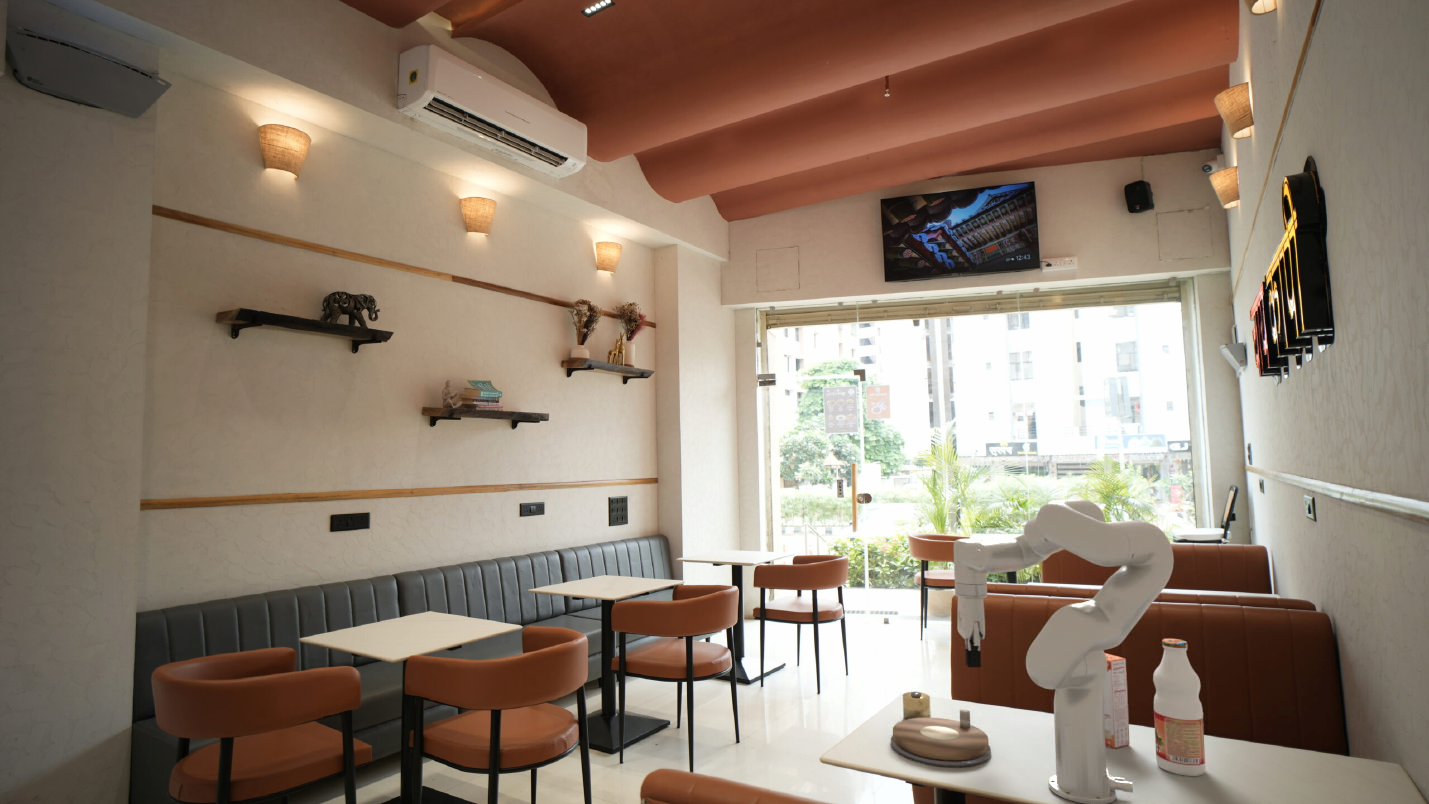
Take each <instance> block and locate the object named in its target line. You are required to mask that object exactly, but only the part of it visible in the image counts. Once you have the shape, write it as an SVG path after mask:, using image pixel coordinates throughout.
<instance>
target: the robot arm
mask: <svg viewBox="0 0 1429 804" xmlns="http://www.w3.org/2000/svg"><path fill="white" fill-rule="evenodd" d="M1063 550H1066V551H1068V552H1070V553H1071V554H1074V555H1076V556H1078V557H1079V558H1081V559H1084V560H1086V561H1088V562H1090V563H1091V564H1093V565H1098V566H1100V567H1107V568H1108V567H1109V568H1111V567H1113V568H1114V567H1119V569H1118V570H1116V571H1115V572H1114V573H1113V574H1111V576H1109V578H1108V579H1107V580H1105V582H1104V584H1103V585H1102V587H1101V588H1100V589H1099V590H1098V592H1097V593H1096V594H1095V595H1094V597H1092V598H1091V599H1090V600H1088V601H1087V600H1086V601H1083V602H1076V603H1071V604H1067V605H1065V606H1062V607H1061V608H1059V609H1057V610H1056V611H1054V613H1053V614H1052V615H1051V616H1050V618H1049V619H1048V620H1047V622H1046V623H1045V624H1044V626H1043V628H1042V629H1041V631H1040V632H1039V633H1038V635H1037V636H1036V637H1035V639H1034V640H1033V641H1032V643H1031V645H1030V646H1029V648H1028V650H1027V653H1026V657H1025V668H1026V671H1027V675H1028V676H1029V678H1030V679H1031V681H1032V682H1034V683H1035V685H1037V686H1039V687H1041V688H1042V689H1043V688H1044V689H1045V690H1047V689H1048V690H1055V691H1054V698H1053V716H1054V718H1053V719H1054V720H1053V721H1054V745H1055V746H1054V747H1055V775H1052V776H1050V777H1049V778H1048V787H1049V789H1050V790H1051V792H1053V794H1055V795H1056V796H1059V797H1061V798H1063V799H1065V800H1068V801H1072V802H1075V803H1079V804H1110V803H1113V802H1114V801H1115V800H1116V799H1117V798H1116V797H1117V791H1122V792H1126V793H1132V794H1133V792H1134V788H1133V787H1134V785H1133V781H1126V780H1125V778H1124V777H1119V776H1112V774H1109V771H1108V770H1109V769H1108V768H1107V753H1106V752H1107V751H1106V747H1107V746H1106V745H1105V723H1104V690H1105V683H1106V676H1107V658H1106V655H1105V653H1106V652H1105V651H1107V650H1109V649H1113V648H1115V647H1118V646H1120V644H1122V643H1123V642H1124V640H1125V639H1126V638H1127V636H1128V635H1129V634H1130V633H1131V631H1132V630H1133V628H1134V627H1135V626H1136V625H1137V624H1138V622H1139V621H1140V620H1141V619H1142V617H1143V615H1144V614H1145V613H1146V612H1147V610H1148V609H1149V607H1150V606H1151V605H1152V604H1153V603H1154V601H1155V600H1156V599H1157V598H1158V596H1160V594H1161V593H1162V591H1163V590H1164V589H1165V587H1166V585H1167V584H1168V582H1169V580H1170V578H1171V576H1172V573H1173V569H1174V563H1175V562H1174V561H1175V559H1174V552H1173V548H1172V545H1171V542H1170V540H1169V537H1167V535H1166V533H1165V532H1164V531H1163V530H1162V529H1161V528H1159V527H1158V526H1157V525H1155V524H1153V523H1149V522H1146V521H1141V520H1124V521H1123V520H1121V521H1120V520H1119V521H1108V522H1107V521H1106V519H1105V514H1104V511H1102V509H1101V508H1100V507H1099V506H1098V504H1096V503H1094V502H1092V501H1090V500H1086V499H1080V498H1079V499H1059V500H1058V499H1056V500H1052V501H1048V502H1046V503H1044V504H1043V506H1041V507H1040V508H1039V510H1038V511H1037V514H1036V517H1033V518H1031V519H1030V520H1029V519H1028V520H1027V521H1026V523H1025V525H1024V528H1023V534H1022V535H1020V536H1017V537H1014V538H1011V539H998V540H988V541H983V540H981V539H976V538H959V539H956V540H954V542H953V565H954V566H953V567H954V569H953V571H954V572H953V573H954V596H955V597H957V632H958V634H959V635H960V636H961V638H963V639H964V640H965V641H964V642H965V665H966V666H967V667H968V668H981V667H982V657H981V654H982V653H981V641H983V640H984V639H986V637H985V636H986V618H985V605H984V604H985V603H984V599H985V598H988V584H987V583H988V580H987V575H992V574H999V573H1008V572H1009V573H1010V572H1017V571H1021V570H1025V569H1026V568H1027V569H1028V568H1029V567H1032V566H1034V565H1035V566H1036V565H1038V564H1040V563H1041V562H1042V563H1043V562H1044V561H1045V560H1047V559H1048V558H1050V557H1051V555H1053V554H1055V553H1059V552H1061V551H1063Z"/></svg>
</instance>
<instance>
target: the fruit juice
mask: <svg viewBox="0 0 1429 804" xmlns="http://www.w3.org/2000/svg"><path fill="white" fill-rule="evenodd" d="M1161 645H1162V648H1163V654H1162V658H1161V661H1160V663H1159V665H1158V666H1157V667H1156V668H1155V670H1154V672H1153V677H1152V682H1153V684H1154V687H1155V694H1154V697H1153V717H1154V718H1153V719H1154V736H1155V737H1154V738H1155V739H1154V740H1155V741H1154V742H1155V759H1156V763H1157V765H1158V766H1159V768H1161V769H1163V770H1164V771H1167V772H1170V773H1172V774H1175V775H1181V776H1186V777H1187V776H1188V777H1197V776H1198V777H1199V776H1202V775H1204V774H1205V773H1206V753H1205V752H1206V751H1205V735H1204V734H1205V732H1204V712H1203V706H1202V702H1201V701H1200V698H1199V696H1200V695H1199V694H1200V691H1201V686H1202V685H1201V681H1200V677H1199V676H1198V674H1197V673H1196V672H1195V670H1194V668H1193V667H1192V665H1191V663H1190V660H1189V658H1188V654H1187V651H1188V648H1189V647H1188V642H1187V641H1185V640H1183V639H1179V638H1178V639H1177V638H1163V639H1162V641H1161Z"/></svg>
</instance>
